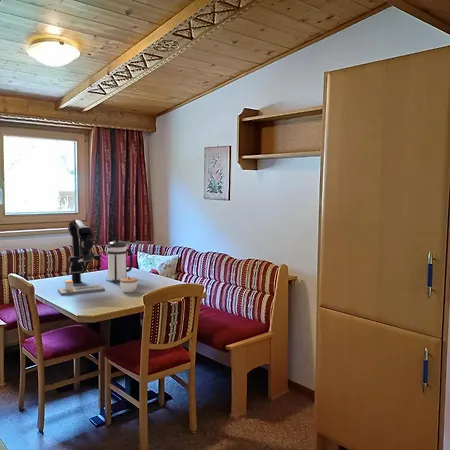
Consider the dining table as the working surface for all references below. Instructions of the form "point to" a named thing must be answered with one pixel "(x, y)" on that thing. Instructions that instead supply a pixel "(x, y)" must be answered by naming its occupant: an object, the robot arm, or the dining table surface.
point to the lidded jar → (128, 284)
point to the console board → (81, 289)
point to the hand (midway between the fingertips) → (84, 271)
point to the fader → (68, 284)
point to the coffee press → (118, 260)
